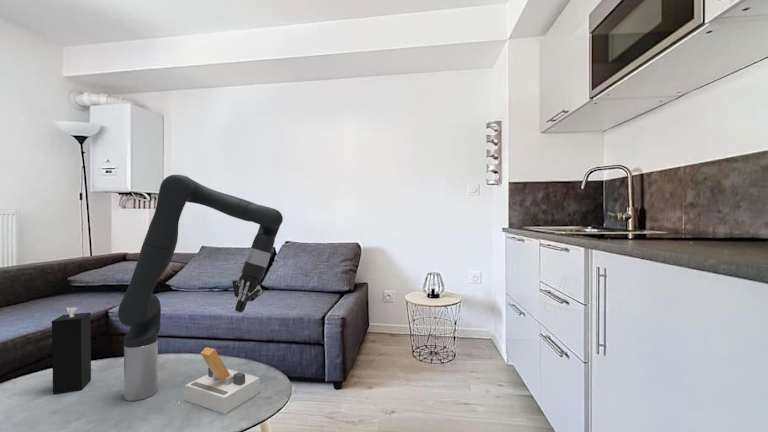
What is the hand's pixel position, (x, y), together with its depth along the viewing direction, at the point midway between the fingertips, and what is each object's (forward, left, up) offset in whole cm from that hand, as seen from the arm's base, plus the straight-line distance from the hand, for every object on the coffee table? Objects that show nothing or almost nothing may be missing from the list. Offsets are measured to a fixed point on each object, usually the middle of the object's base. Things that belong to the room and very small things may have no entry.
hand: (238, 311), depth 119 cm
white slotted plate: (+1, -6, -26) cm, 27 cm away
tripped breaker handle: (+1, -6, -20) cm, 21 cm away
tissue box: (-48, -33, -27) cm, 65 cm away
